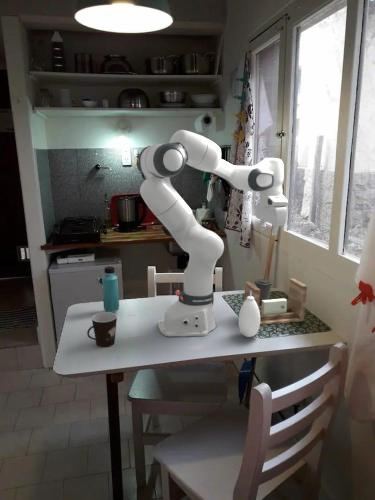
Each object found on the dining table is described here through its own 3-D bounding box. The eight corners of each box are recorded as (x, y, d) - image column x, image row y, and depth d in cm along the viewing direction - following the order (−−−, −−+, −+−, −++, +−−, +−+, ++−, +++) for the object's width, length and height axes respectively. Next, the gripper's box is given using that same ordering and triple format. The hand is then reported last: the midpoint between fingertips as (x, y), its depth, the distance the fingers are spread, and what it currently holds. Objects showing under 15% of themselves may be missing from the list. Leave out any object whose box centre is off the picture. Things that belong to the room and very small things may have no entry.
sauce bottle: (236, 331, 144) (238, 286, 140) (257, 331, 145) (259, 286, 140) (239, 341, 137) (241, 294, 133) (261, 341, 137) (264, 294, 133)
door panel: (264, 319, 153) (265, 303, 151) (260, 316, 156) (261, 300, 154) (286, 317, 155) (288, 301, 153) (283, 314, 158) (284, 298, 156)
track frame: (253, 326, 149) (255, 290, 145) (243, 316, 158) (245, 282, 154) (303, 321, 154) (307, 286, 150) (291, 311, 163) (294, 278, 160)
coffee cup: (257, 304, 170) (258, 283, 168) (250, 298, 178) (251, 278, 175) (274, 303, 172) (275, 282, 169) (267, 297, 179) (268, 277, 177)
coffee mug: (112, 335, 140) (111, 310, 138) (121, 345, 133) (120, 318, 131) (81, 343, 134) (79, 317, 132) (89, 354, 127) (87, 326, 125)
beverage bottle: (122, 313, 159) (120, 267, 155) (107, 317, 156) (105, 270, 151) (115, 308, 165) (113, 264, 160) (101, 311, 161) (98, 266, 156)
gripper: (253, 196, 162) (251, 228, 165) (275, 202, 142) (272, 238, 146) (266, 196, 163) (264, 227, 166) (290, 201, 144) (287, 237, 147)
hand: (268, 232), depth 156 cm, fingers open, 8 cm apart
